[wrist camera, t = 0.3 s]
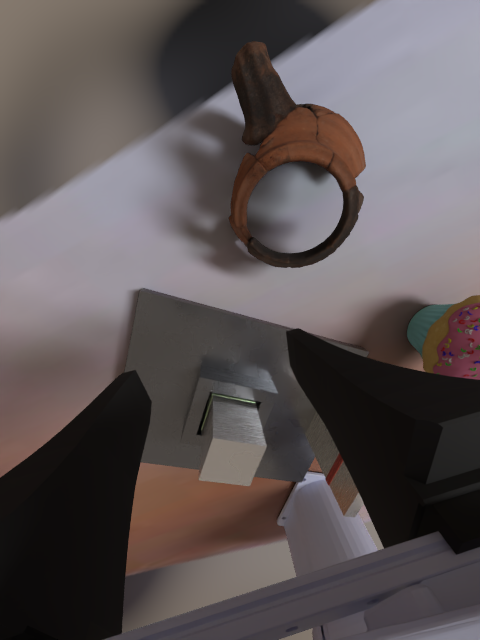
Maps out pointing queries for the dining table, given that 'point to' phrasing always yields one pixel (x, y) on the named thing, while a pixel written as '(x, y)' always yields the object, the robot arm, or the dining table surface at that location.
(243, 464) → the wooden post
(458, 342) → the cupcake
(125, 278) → the dining table surface
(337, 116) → the broken terracotta ring
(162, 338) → the stand base
